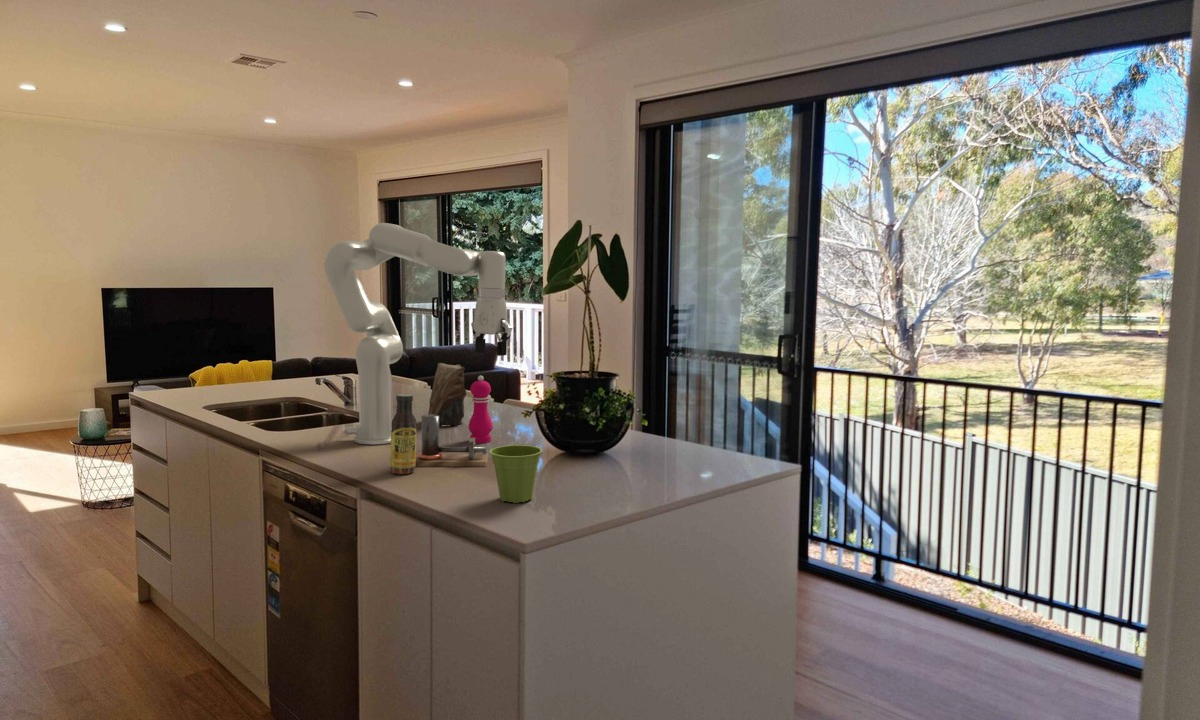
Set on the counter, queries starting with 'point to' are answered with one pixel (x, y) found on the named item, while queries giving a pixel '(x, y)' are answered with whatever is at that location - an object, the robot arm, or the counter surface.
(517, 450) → the plant pot
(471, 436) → the pepper mill
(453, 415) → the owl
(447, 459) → the board
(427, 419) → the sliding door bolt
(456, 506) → the counter surface
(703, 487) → the counter surface
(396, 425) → the sauce bottle
